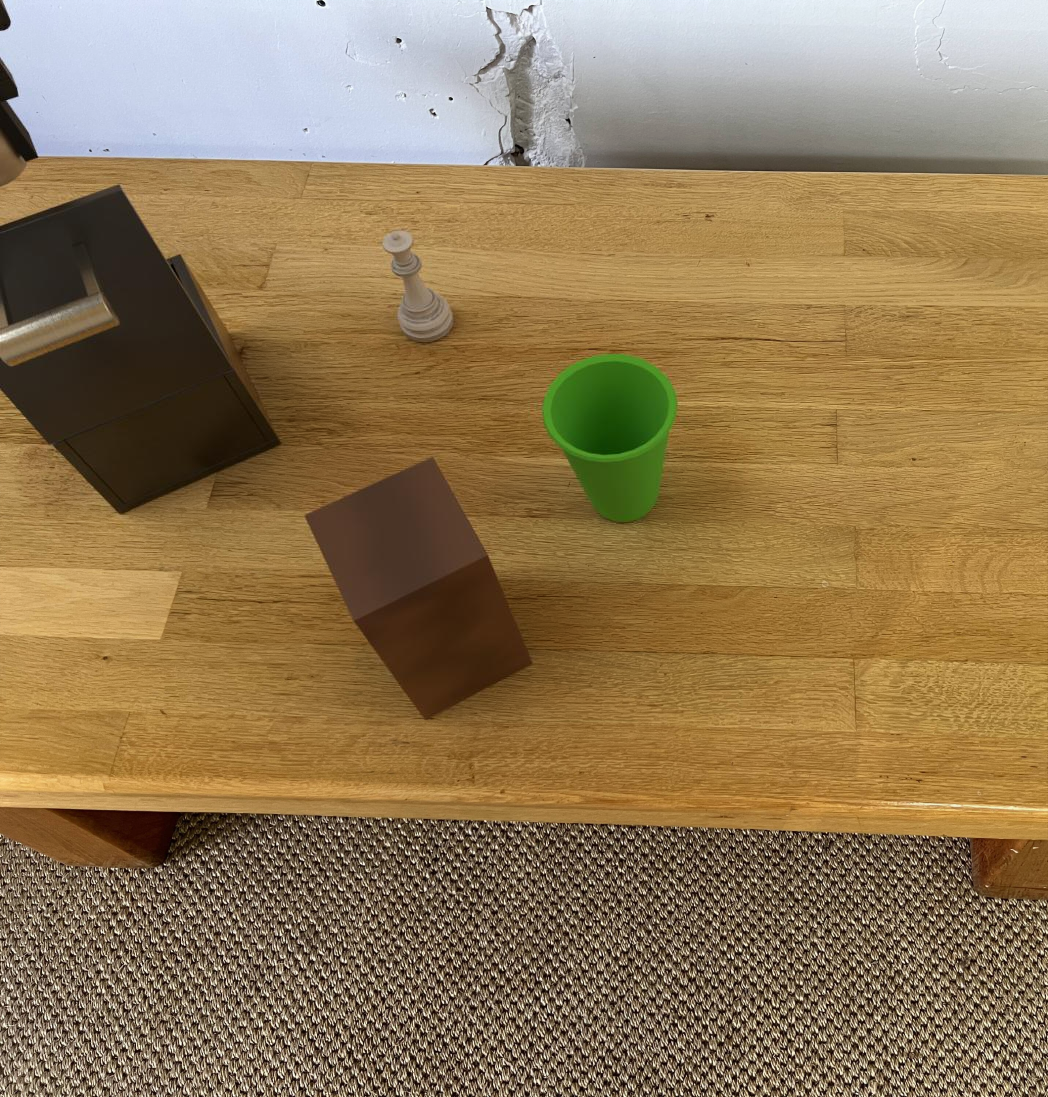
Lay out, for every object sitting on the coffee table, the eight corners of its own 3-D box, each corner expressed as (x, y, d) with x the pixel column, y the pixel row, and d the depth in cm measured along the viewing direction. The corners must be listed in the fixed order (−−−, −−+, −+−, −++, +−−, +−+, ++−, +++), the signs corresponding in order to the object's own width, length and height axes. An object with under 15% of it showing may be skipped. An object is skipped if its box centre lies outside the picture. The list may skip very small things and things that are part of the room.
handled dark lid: (-107, 262, 58) (-96, 349, 53) (119, 183, 61) (149, 258, 56) (47, 437, 69) (68, 522, 64) (230, 363, 72) (263, 438, 68)
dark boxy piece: (76, 393, 83) (9, 317, 75) (229, 332, 86) (180, 253, 78) (119, 514, 77) (52, 445, 69) (281, 444, 80) (234, 370, 73)
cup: (672, 553, 75) (663, 468, 66) (552, 537, 76) (526, 450, 66) (693, 455, 80) (688, 361, 70) (580, 440, 80) (559, 345, 71)
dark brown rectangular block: (425, 720, 68) (353, 621, 56) (380, 628, 72) (303, 514, 59) (533, 663, 71) (488, 554, 58) (485, 577, 74) (432, 456, 61)
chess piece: (464, 316, 87) (434, 224, 78) (432, 350, 85) (398, 260, 76) (423, 297, 88) (389, 205, 79) (390, 331, 86) (352, 240, 77)
